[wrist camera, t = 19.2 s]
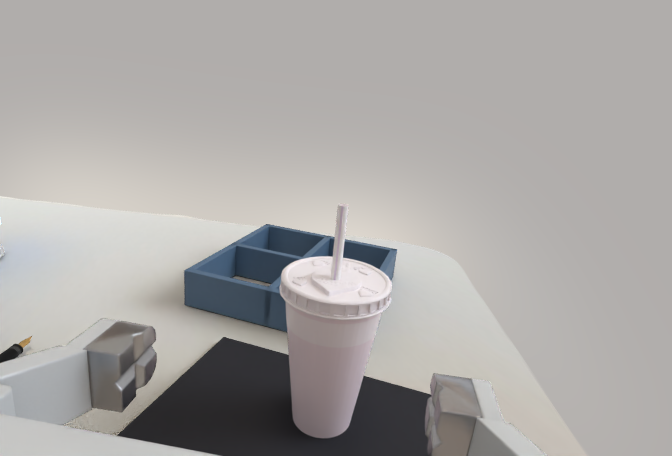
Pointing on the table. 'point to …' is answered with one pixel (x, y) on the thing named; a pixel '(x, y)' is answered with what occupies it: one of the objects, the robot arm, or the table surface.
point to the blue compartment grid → (266, 272)
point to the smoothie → (330, 333)
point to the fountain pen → (14, 351)
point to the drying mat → (273, 411)
